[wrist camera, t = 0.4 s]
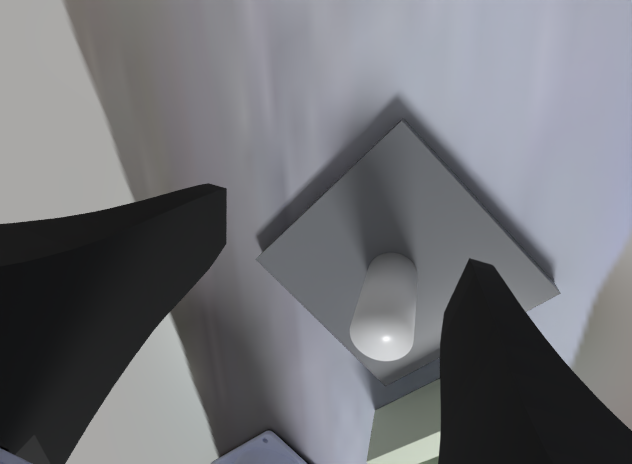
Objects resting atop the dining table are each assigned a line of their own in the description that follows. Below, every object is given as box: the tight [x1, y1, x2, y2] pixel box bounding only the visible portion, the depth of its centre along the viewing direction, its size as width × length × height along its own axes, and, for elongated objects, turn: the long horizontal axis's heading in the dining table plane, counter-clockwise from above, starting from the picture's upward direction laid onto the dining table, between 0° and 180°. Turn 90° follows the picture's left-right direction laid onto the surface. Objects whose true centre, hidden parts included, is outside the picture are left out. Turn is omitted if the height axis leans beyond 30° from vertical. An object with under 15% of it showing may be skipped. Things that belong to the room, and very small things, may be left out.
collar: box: [367, 378, 441, 464], centre depth 24 cm, size 8×8×4 cm
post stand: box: [256, 119, 561, 386], centre depth 19 cm, size 12×12×6 cm
